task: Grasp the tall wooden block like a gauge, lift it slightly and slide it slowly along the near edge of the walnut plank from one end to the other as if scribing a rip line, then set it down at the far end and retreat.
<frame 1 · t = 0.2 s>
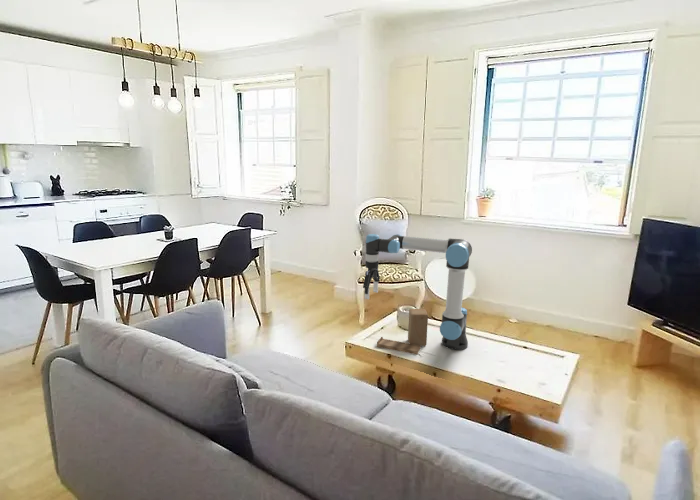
hand: (371, 295, 262), 28 cm above the table, fingers open, 13 cm apart
wooden block: (416, 343, 264), on the table
plank: (398, 347, 257), on the table
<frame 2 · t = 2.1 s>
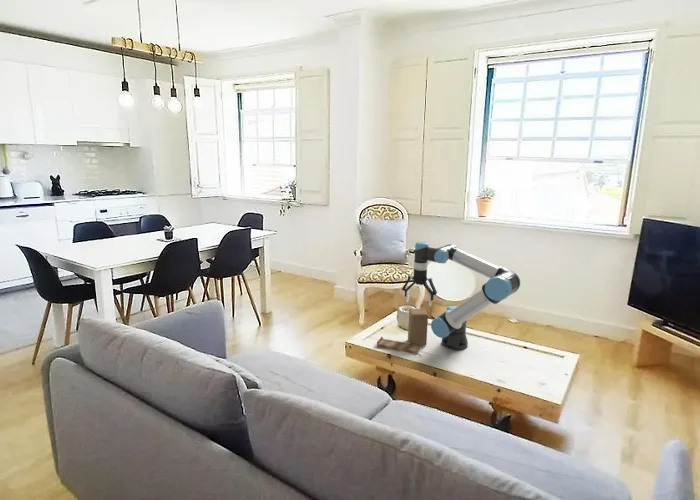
hand: (418, 303, 258), 25 cm above the table, fingers open, 13 cm apart
nothing on the table moved.
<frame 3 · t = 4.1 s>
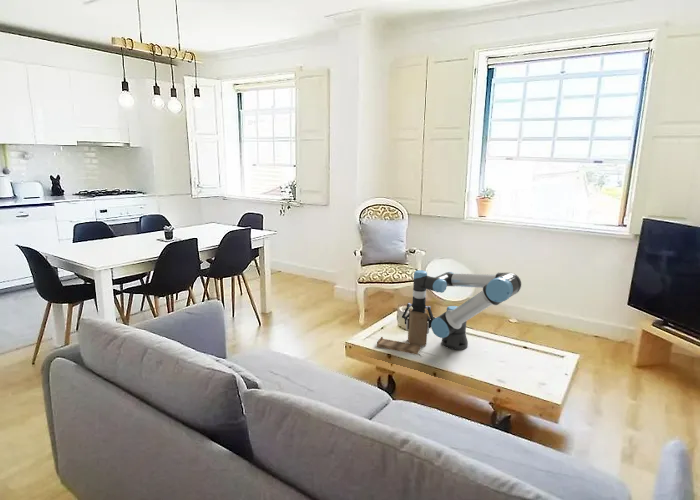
hand: (417, 331, 262), 7 cm above the table, fingers closed on wooden block, 12 cm apart
wooden block: (416, 343, 264), on the table, touching gripper
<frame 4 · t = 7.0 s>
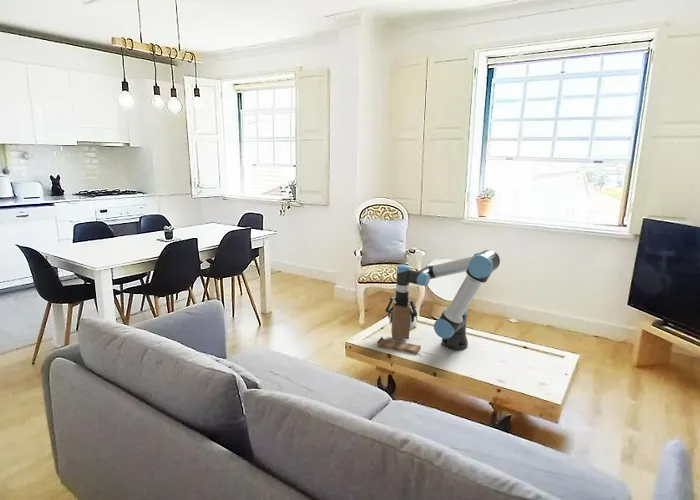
hand: (400, 324, 266), 10 cm above the table, fingers closed on wooden block, 12 cm apart
wooden block: (400, 336, 268), point 2 cm above the table, touching gripper
when the fingers open (8 cm above the table, at t = 10.2 s): wooden block stays where it is, on the table.
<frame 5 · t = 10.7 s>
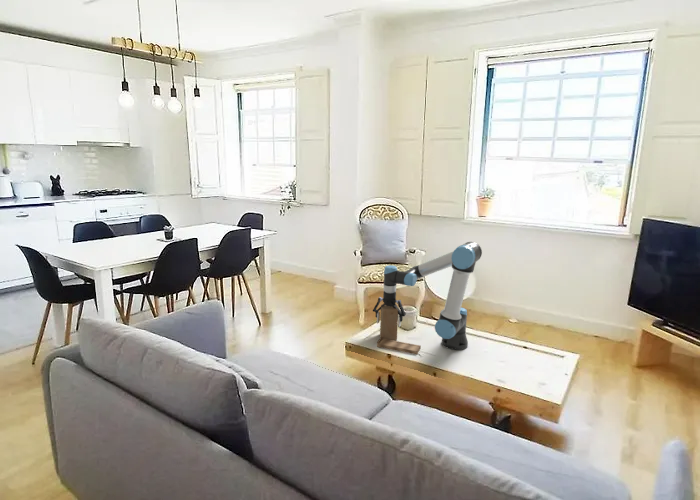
hand: (388, 324, 269), 9 cm above the table, fingers open, 13 cm apart
wooden block: (388, 337, 271), on the table
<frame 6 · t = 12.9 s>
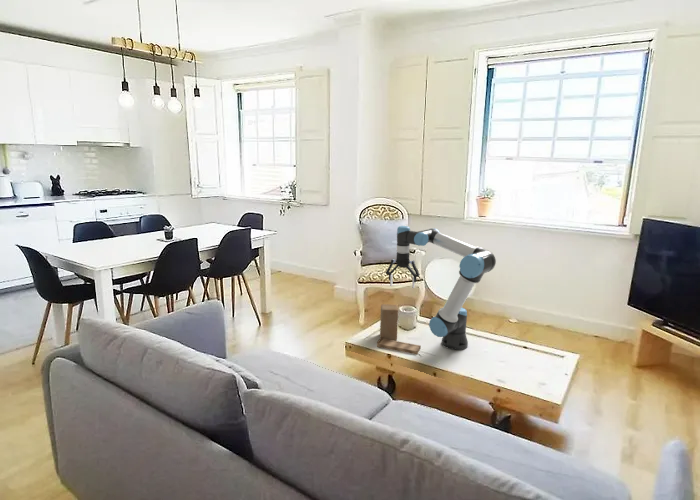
hand: (402, 286, 267), 32 cm above the table, fingers open, 13 cm apart
nothing on the table moved.
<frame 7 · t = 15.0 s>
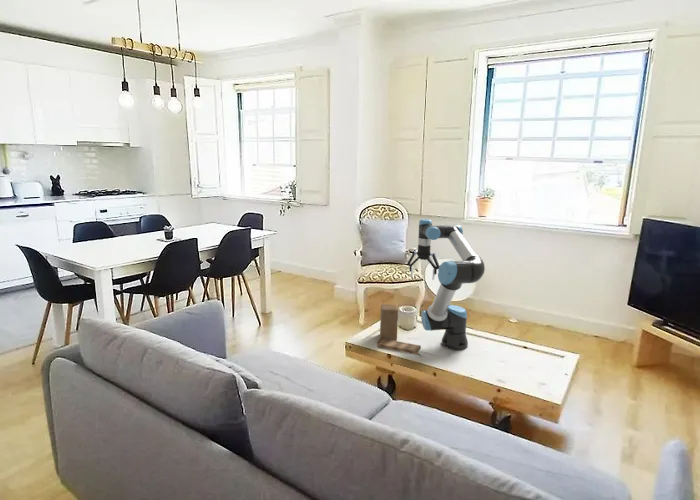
hand: (422, 278, 274), 35 cm above the table, fingers open, 13 cm apart
nothing on the table moved.
at the end: wooden block inside the target area (0.1 cm from its centre), on the table; wooden block tilted 0°; the gripper is holding nothing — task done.
